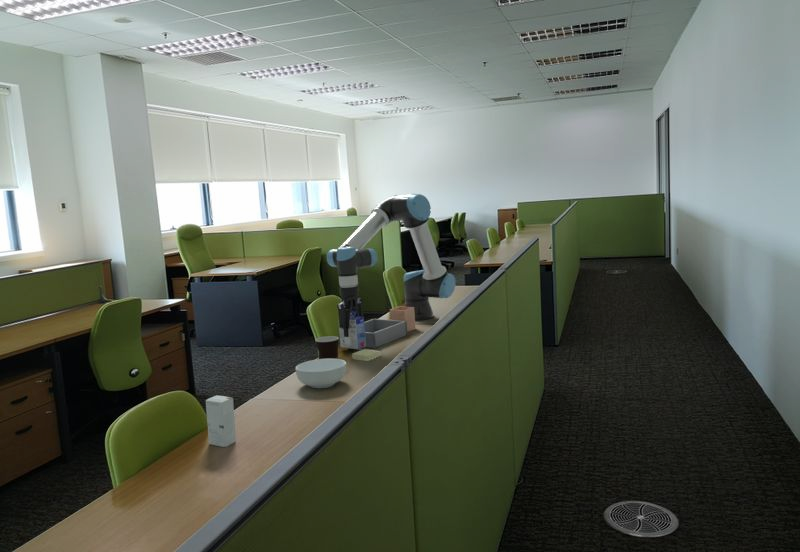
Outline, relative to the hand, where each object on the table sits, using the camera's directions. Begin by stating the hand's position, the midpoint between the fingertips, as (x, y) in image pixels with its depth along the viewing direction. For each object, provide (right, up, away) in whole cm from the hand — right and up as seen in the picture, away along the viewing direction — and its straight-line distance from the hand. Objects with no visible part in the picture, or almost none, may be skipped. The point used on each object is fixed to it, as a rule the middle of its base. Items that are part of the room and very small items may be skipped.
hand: (353, 342), depth 251 cm
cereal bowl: (-7, -10, -43) cm, 45 cm away
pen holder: (+20, +2, +31) cm, 37 cm away
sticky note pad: (+6, -5, -12) cm, 14 cm away
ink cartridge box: (0, -2, 0) cm, 2 cm away
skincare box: (-28, -17, -88) cm, 93 cm away
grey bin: (+8, 0, +17) cm, 18 cm away
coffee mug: (-7, -6, -18) cm, 20 cm away
